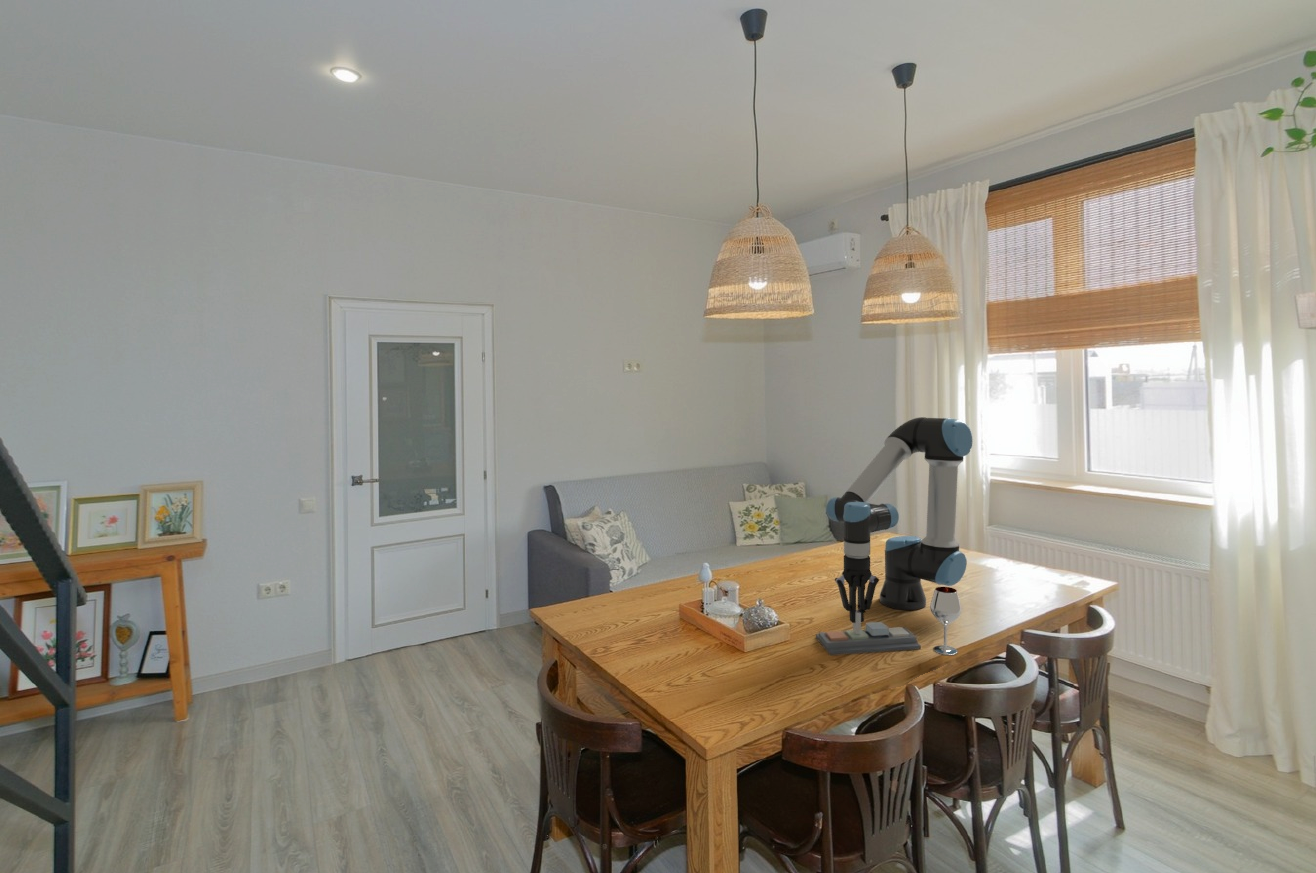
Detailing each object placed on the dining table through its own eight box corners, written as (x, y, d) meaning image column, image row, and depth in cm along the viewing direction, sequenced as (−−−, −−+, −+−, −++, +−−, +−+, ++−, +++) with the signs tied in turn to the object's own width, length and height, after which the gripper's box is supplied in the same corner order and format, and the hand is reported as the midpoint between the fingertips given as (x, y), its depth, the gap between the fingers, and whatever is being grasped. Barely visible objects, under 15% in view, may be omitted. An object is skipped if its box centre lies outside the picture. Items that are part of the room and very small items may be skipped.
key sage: (861, 635, 203) (861, 629, 202) (868, 642, 198) (868, 635, 197) (845, 636, 202) (845, 630, 202) (851, 643, 197) (851, 636, 197)
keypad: (900, 631, 208) (901, 624, 208) (920, 648, 195) (920, 640, 195) (815, 637, 206) (815, 629, 205) (830, 654, 193) (830, 646, 192)
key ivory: (901, 633, 204) (901, 627, 203) (909, 639, 199) (909, 633, 198) (885, 634, 203) (885, 628, 203) (892, 640, 198) (892, 634, 198)
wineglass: (942, 658, 189) (943, 595, 187) (923, 646, 196) (924, 587, 195) (967, 654, 191) (968, 592, 189) (947, 643, 199) (948, 583, 197)
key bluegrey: (881, 628, 203) (881, 621, 203) (888, 634, 198) (888, 628, 198) (865, 629, 203) (865, 622, 202) (872, 635, 198) (872, 629, 197)
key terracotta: (841, 637, 202) (841, 630, 202) (847, 643, 197) (847, 637, 197) (825, 638, 202) (825, 631, 201) (831, 644, 197) (831, 638, 197)
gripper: (873, 550, 202) (872, 626, 204) (830, 552, 201) (831, 628, 203) (883, 557, 194) (883, 636, 196) (839, 559, 193) (839, 638, 195)
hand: (856, 632), depth 200 cm, fingers closed
